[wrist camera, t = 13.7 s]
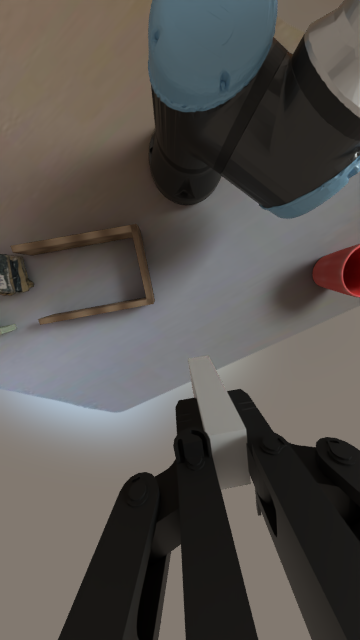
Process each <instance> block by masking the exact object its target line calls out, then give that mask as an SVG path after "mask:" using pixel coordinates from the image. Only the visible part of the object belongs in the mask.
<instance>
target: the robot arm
mask: <svg viewBox="0 0 360 640" xmlns="http://www.w3.org/2000/svg"><path fill="white" fill-rule="evenodd" d="M276 18H277V0H152V4H151V9H150V15H149V28H148V38H149V60H148V71H149V77H150V82H151V88H152V99H153V110H154V120H155V129H154V132H153V135H152V138H151V141H150V146H149V163H150V170H151V174H152V177H153V180H154V182H155V184H156V186H157V188H158V189H159V190H160V192H161V193H162V194H163V195H164V196H165V197H167V198H168V199H169V200H171V201H173V202H175V203H178V204H183V205H191V204H196V203H199V202H201V201H203V200H204V199H206V198H207V197H208V196H209V195H210V194H211V193H212V192H213V191H214V189H215V188H216V186H217V184H218V183H219V181H220V179H221V176H222V177H224V178H225V179H226V180H228V181H229V182H230V183H232V184H233V185H235V186H236V187H237V188H239V189H240V190H241V191H243V192H244V193H245V194H247V195H248V196H249V197H251V198H252V199H253V200H255V201H256V202H257V203H259V206H260V207H261V208H263V209H265V210H269V211H270V212H272V213H273V214H275V215H276V216H278V217H280V218H286V219H287V218H289V219H290V218H295V217H298V216H301V215H303V214H306V213H308V212H309V211H311V210H313V209H315V208H316V207H318V206H319V205H321V204H323V203H324V202H325V201H327V200H328V199H330V198H331V197H332V196H333V195H335V194H336V193H337V192H338V191H339V190H341V189H342V188H343V187H344V186H345V185H346V184H347V183H348V179H349V178H351V177H352V176H354V175H355V174H357V173H358V172H359V171H360V0H344V1H343V2H342V4H341V5H340V6H339V7H338V8H337V9H335V10H333V11H332V12H330V13H328V14H326V15H324V16H323V17H321V18H319V19H317V20H316V21H314V22H312V23H311V24H310V25H309V27H308V28H307V30H306V32H305V34H304V36H303V37H302V39H301V41H300V43H299V44H298V46H297V48H296V50H295V52H294V53H293V54H292V53H290V52H289V51H288V50H286V49H285V48H284V47H283V46H282V45H281V44H280V43H279V42H278V41H277V40H276V39H275V38H274V37H273V36H274V33H275V25H276ZM188 362H189V369H190V375H191V382H192V388H193V393H194V398H190V399H184V400H179V401H178V404H177V406H176V424H177V436H176V438H175V439H174V445H173V446H174V451H175V456H176V460H175V461H174V463H173V464H172V465H171V466H170V467H169V468H168V469H167V470H165V471H164V472H162V473H160V474H159V475H157V476H155V477H154V476H153V475H152V474H150V473H147V472H143V473H138V474H136V475H134V476H132V477H131V478H130V479H129V480H128V481H127V482H126V483H125V484H124V486H123V487H122V489H121V491H120V493H119V495H118V498H117V500H116V502H115V505H114V507H113V510H112V512H111V514H110V517H109V519H108V521H107V524H106V526H105V528H104V531H103V533H102V536H101V538H100V540H99V543H98V545H97V548H96V550H95V553H94V555H93V557H92V560H91V562H90V564H89V567H88V569H87V572H86V574H85V576H84V579H83V581H82V583H81V586H80V588H79V591H78V593H77V596H76V598H75V600H74V603H73V605H72V608H71V610H70V613H69V615H68V618H67V619H66V622H65V624H64V627H63V629H62V631H61V634H60V636H59V638H58V640H158V637H159V630H160V623H161V616H162V610H163V602H164V596H165V589H166V582H167V575H168V569H169V562H170V554H171V551H172V550H174V549H175V548H176V547H178V546H179V545H180V544H181V553H182V572H183V591H184V612H185V629H186V630H185V632H186V640H258V637H257V633H256V629H255V625H254V621H253V617H252V613H251V609H250V605H249V601H248V597H247V593H246V589H245V585H244V581H243V577H242V573H241V569H240V565H239V561H238V557H237V553H236V549H235V545H234V541H233V537H232V533H231V529H230V525H229V521H228V517H227V513H226V509H225V505H224V501H223V497H222V493H221V489H226V488H232V487H237V486H242V485H247V484H250V483H251V482H250V476H251V479H252V481H253V483H254V486H255V492H256V506H257V512H258V515H261V512H262V514H263V517H264V519H265V522H266V525H267V527H268V530H269V532H270V535H271V537H272V540H273V542H274V545H275V547H276V550H277V552H278V555H279V558H280V560H281V563H282V565H283V567H284V570H285V573H286V575H287V578H288V580H289V583H290V585H291V588H292V590H293V593H294V596H295V598H296V601H297V603H298V606H299V608H300V611H301V613H302V616H303V618H304V621H305V623H306V626H307V628H308V631H309V634H310V636H311V639H312V640H360V450H358V449H357V448H355V447H354V446H352V445H350V444H348V443H347V442H345V441H342V440H339V439H337V438H330V437H325V438H321V439H319V440H318V441H317V442H316V447H308V446H299V445H294V444H291V443H288V442H287V441H286V440H285V439H284V438H283V437H282V436H280V435H278V434H276V433H274V432H273V431H272V429H271V428H270V426H269V425H268V423H267V422H266V420H265V419H264V417H263V416H262V414H261V413H260V411H259V410H258V408H256V406H255V404H254V402H253V401H252V400H251V398H250V397H249V395H248V394H247V393H245V392H244V391H243V390H241V389H237V390H232V391H226V389H225V387H224V385H223V383H222V381H221V379H220V377H219V375H218V373H217V371H216V369H215V367H214V365H213V363H212V361H211V359H210V358H209V356H202V357H196V358H190V359H188Z"/></svg>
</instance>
